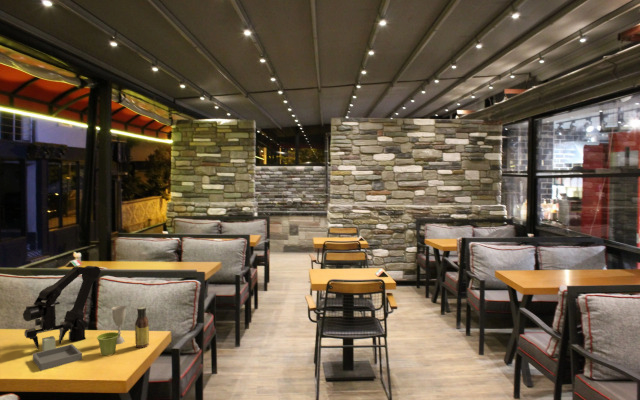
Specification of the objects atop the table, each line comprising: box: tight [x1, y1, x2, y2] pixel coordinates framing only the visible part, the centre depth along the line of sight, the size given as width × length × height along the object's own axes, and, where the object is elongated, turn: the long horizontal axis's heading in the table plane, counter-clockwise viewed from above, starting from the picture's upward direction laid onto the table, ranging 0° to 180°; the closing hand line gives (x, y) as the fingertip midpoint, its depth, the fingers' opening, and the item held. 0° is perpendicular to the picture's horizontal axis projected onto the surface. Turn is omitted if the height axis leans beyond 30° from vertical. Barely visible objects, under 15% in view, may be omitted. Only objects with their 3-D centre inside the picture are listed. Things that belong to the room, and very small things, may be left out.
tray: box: [32, 343, 83, 371], centre depth 184 cm, size 16×16×3 cm
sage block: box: [41, 335, 56, 351], centre depth 195 cm, size 4×4×6 cm
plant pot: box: [96, 331, 119, 356], centre depth 191 cm, size 9×9×9 cm
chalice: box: [111, 305, 127, 345], centre depth 205 cm, size 7×7×18 cm
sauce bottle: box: [134, 306, 150, 349], centre depth 200 cm, size 7×6×20 cm
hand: (49, 346), depth 195 cm, fingers open, 9 cm apart
